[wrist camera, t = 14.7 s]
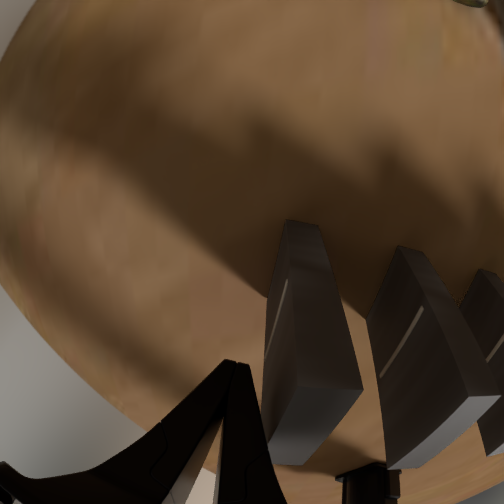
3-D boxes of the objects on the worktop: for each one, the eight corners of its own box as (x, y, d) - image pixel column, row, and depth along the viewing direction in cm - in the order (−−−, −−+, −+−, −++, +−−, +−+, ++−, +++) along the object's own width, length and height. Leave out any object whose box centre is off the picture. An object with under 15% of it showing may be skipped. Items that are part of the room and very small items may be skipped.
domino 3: (442, 332, 16) (486, 456, 8) (478, 268, 14) (557, 388, 5) (460, 335, 16) (505, 452, 8) (496, 273, 13) (572, 386, 5)
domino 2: (364, 319, 16) (385, 469, 8) (397, 245, 14) (467, 396, 6) (389, 324, 16) (420, 467, 8) (423, 252, 14) (502, 395, 6)
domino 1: (266, 301, 17) (256, 462, 8) (284, 219, 14) (295, 386, 6) (295, 305, 17) (303, 465, 8) (318, 225, 14) (365, 389, 6)
